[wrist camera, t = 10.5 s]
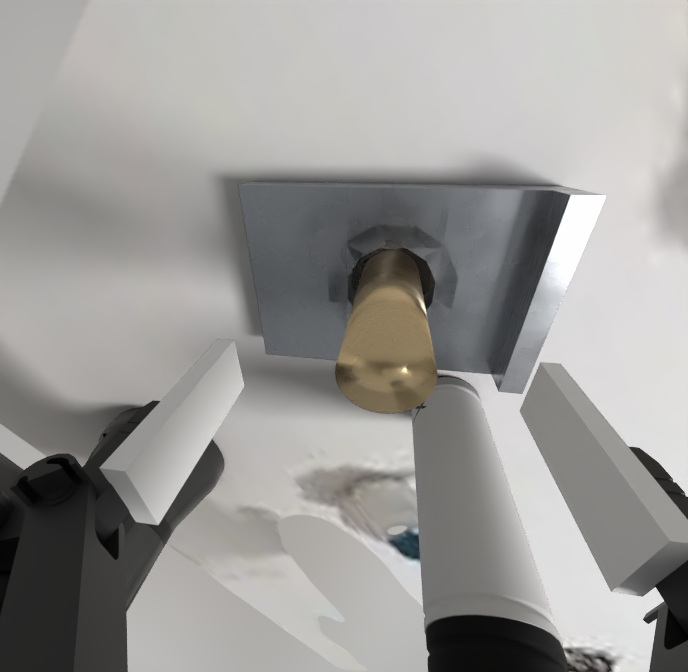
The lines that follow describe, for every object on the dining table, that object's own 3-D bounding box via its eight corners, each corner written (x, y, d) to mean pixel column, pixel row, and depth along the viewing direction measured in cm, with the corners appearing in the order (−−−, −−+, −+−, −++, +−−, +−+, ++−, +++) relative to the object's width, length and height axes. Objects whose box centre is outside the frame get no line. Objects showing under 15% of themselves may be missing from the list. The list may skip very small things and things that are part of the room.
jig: (276, 338, 28) (257, 368, 24) (253, 181, 21) (222, 188, 17) (503, 357, 25) (522, 393, 22) (563, 186, 18) (606, 195, 15)
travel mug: (398, 385, 29) (402, 722, 12) (470, 368, 26) (601, 752, 10) (418, 429, 31) (444, 754, 14) (485, 417, 29) (608, 784, 12)
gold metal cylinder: (360, 302, 25) (335, 408, 14) (362, 248, 22) (334, 330, 12) (415, 305, 24) (428, 418, 14) (423, 251, 22) (446, 338, 12)
